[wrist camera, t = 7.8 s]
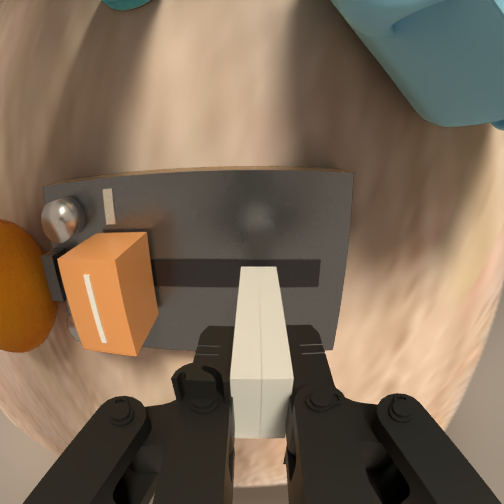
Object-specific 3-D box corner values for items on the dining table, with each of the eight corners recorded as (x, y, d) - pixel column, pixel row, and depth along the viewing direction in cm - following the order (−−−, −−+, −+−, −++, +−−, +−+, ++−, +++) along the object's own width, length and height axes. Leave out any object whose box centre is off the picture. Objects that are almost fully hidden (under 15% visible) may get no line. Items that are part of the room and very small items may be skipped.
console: (68, 179, 17) (27, 191, 13) (337, 168, 17) (363, 176, 13) (93, 317, 21) (68, 350, 17) (323, 324, 21) (337, 364, 16)
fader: (96, 233, 15) (55, 259, 11) (147, 231, 15) (113, 260, 11) (111, 310, 16) (82, 349, 13) (158, 313, 16) (136, 357, 13)
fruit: (32, 332, 22) (-12, 380, 14) (-18, 239, 19) (-74, 271, 11) (96, 304, 20) (44, 368, 13) (36, 185, 17) (-41, 212, 10)
